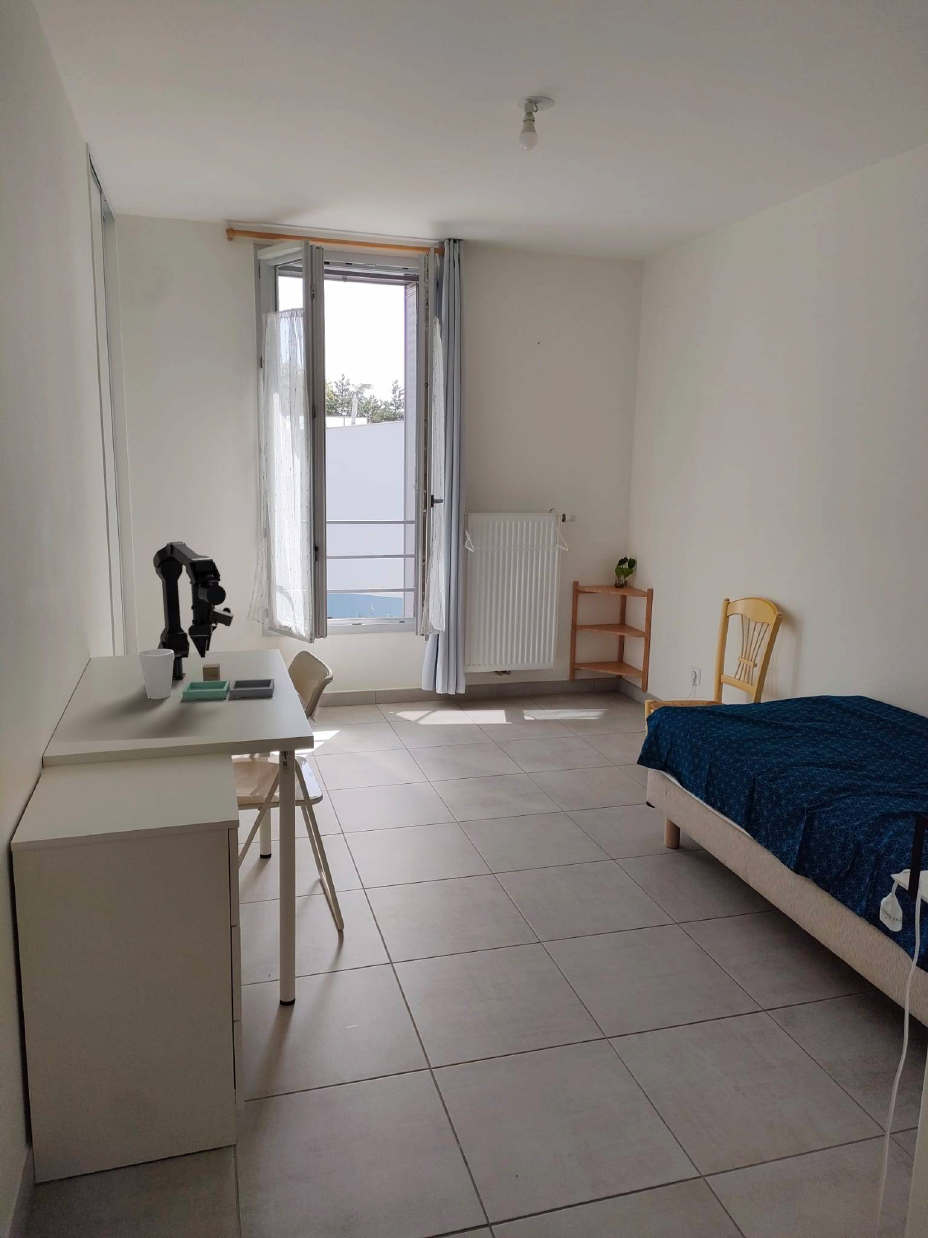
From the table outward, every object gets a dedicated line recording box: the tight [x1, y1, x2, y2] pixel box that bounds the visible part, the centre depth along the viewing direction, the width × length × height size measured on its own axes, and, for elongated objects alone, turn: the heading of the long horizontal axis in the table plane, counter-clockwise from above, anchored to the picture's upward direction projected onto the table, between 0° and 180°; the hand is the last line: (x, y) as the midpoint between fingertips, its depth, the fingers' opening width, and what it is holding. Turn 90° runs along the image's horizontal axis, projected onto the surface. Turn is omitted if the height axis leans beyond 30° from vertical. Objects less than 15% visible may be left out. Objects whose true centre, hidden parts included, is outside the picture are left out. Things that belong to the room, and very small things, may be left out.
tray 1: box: [182, 680, 231, 701], centre depth 257 cm, size 12×12×2 cm
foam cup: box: [138, 648, 174, 700], centre depth 254 cm, size 10×9×13 cm
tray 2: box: [229, 678, 275, 699], centre depth 259 cm, size 12×12×2 cm
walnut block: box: [202, 663, 221, 681], centre depth 268 cm, size 4×4×6 cm
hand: (205, 654), depth 255 cm, fingers open, 9 cm apart
